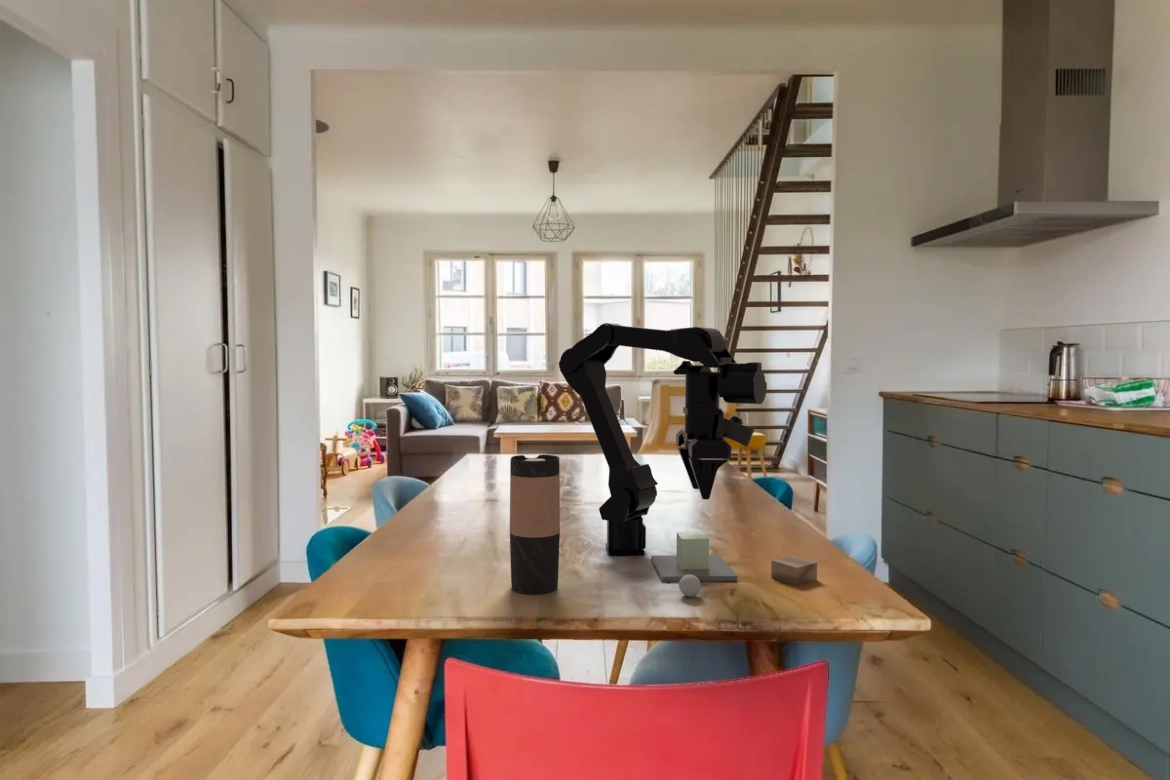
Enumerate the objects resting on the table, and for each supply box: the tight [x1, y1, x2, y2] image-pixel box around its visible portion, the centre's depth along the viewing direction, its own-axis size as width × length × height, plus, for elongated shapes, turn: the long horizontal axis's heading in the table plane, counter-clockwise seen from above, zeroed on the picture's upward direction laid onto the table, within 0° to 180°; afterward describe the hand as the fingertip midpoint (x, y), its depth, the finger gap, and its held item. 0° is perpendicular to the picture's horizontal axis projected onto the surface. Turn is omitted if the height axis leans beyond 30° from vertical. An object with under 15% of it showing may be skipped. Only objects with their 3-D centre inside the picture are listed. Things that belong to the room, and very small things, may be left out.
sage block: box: [675, 531, 710, 569], centre depth 119 cm, size 4×4×5 cm
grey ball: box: [678, 575, 702, 598], centre depth 106 cm, size 3×3×3 cm
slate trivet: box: [650, 554, 738, 583], centre depth 119 cm, size 12×12×1 cm
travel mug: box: [509, 454, 561, 596], centre depth 109 cm, size 8×8×20 cm
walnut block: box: [770, 555, 818, 586], centre depth 115 cm, size 5×5×3 cm
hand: (700, 493), depth 121 cm, fingers open, 9 cm apart
